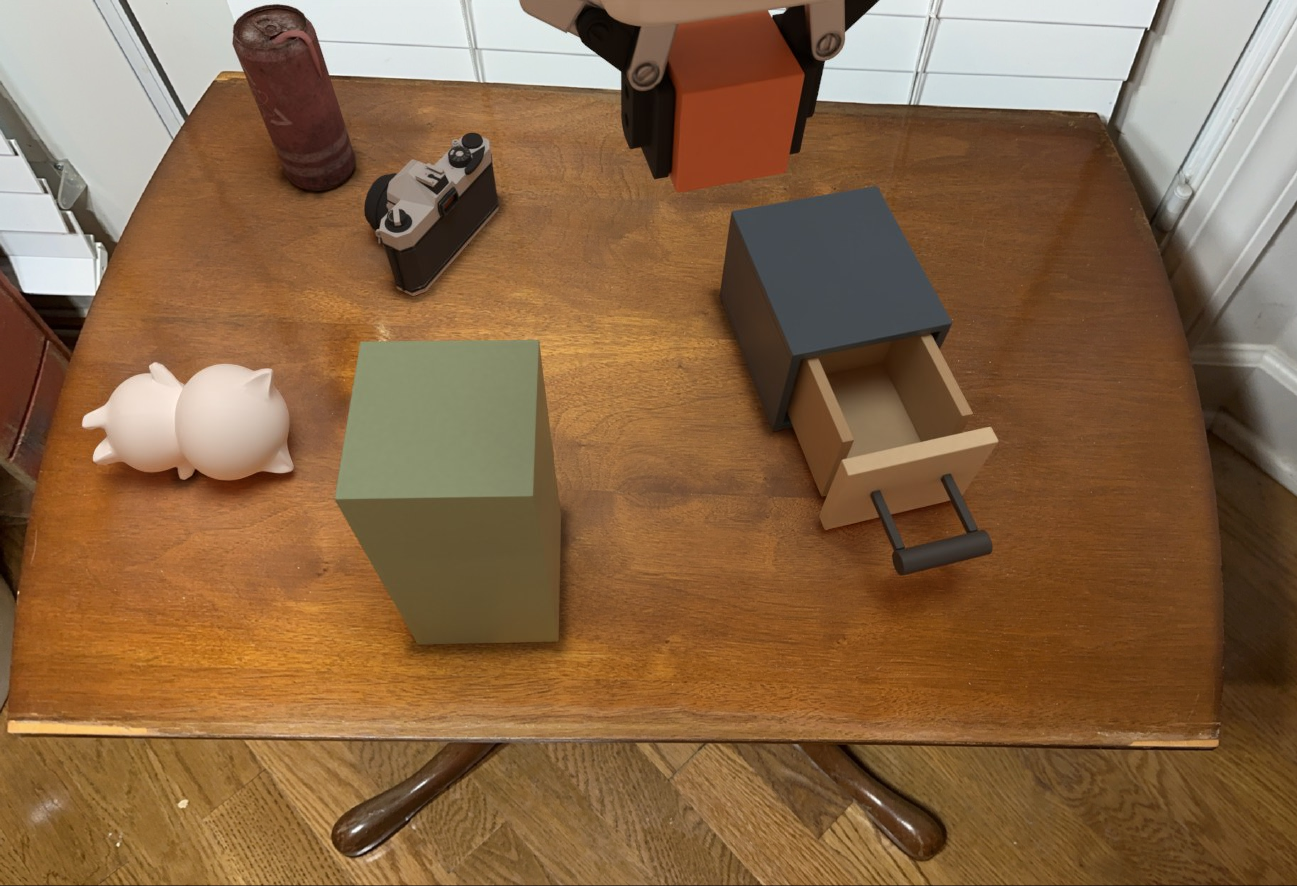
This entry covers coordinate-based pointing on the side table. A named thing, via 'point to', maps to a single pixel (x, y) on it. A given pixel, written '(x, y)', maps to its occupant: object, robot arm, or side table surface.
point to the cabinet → (821, 286)
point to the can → (294, 95)
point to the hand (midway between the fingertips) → (715, 138)
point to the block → (732, 100)
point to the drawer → (891, 442)
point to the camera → (433, 211)
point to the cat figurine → (196, 423)
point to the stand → (456, 487)
